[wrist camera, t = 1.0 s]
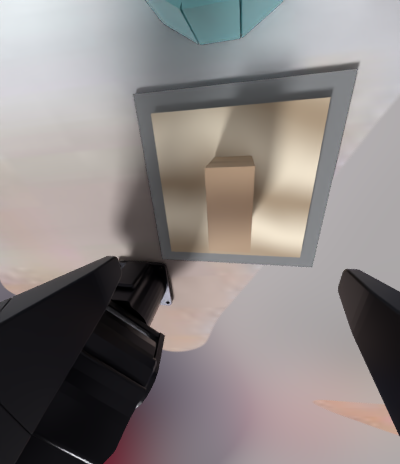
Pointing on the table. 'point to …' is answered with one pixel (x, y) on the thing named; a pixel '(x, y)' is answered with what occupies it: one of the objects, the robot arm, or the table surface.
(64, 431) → the robot arm
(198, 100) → the mat
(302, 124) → the cover board
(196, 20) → the bowl
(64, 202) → the table surface
